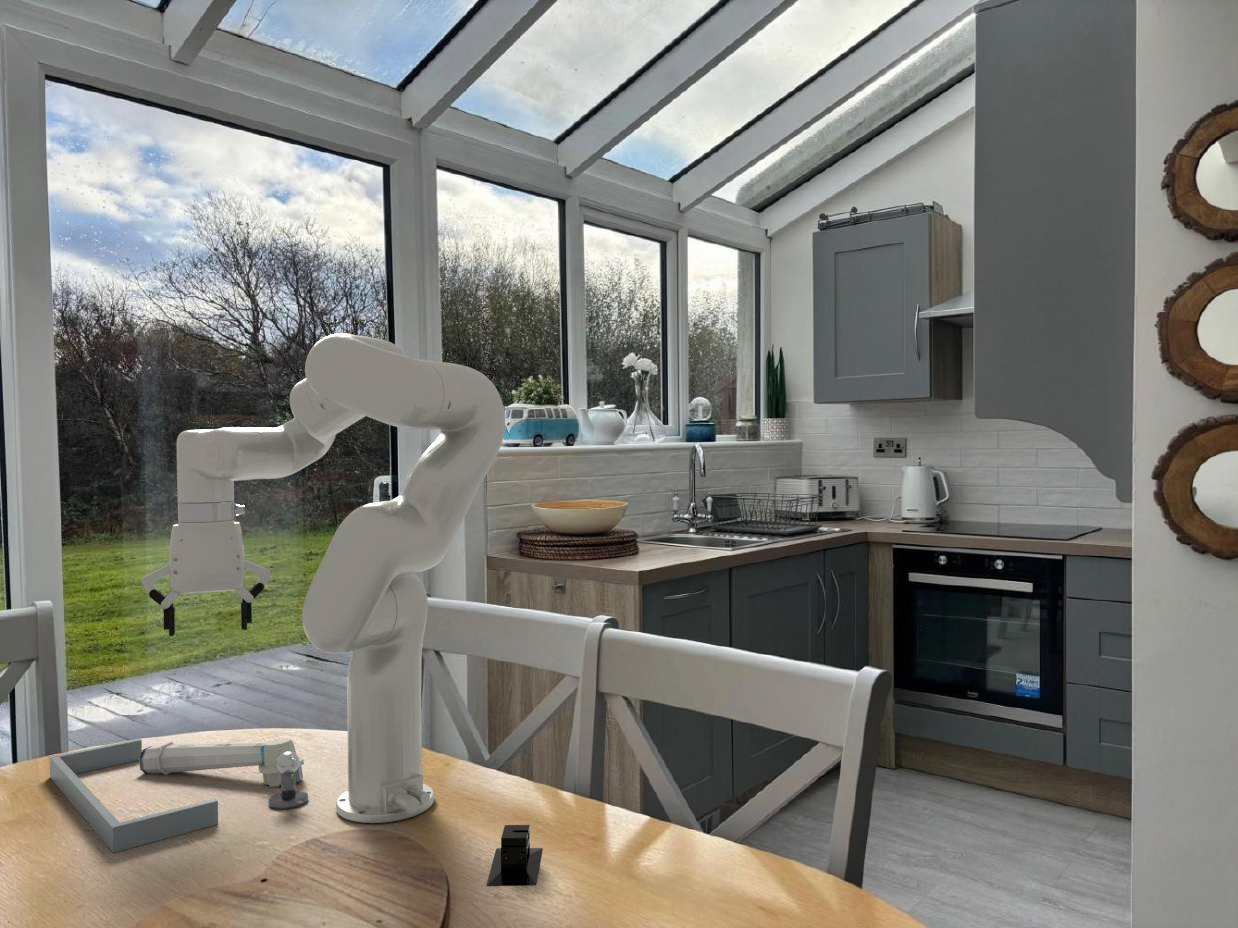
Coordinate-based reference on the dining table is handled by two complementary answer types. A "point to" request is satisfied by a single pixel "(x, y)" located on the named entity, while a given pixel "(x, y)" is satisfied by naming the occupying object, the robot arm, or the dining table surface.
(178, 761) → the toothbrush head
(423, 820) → the dining table surface
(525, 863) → the black slotted block
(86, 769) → the bay
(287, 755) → the ball stud
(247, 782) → the dining table surface
